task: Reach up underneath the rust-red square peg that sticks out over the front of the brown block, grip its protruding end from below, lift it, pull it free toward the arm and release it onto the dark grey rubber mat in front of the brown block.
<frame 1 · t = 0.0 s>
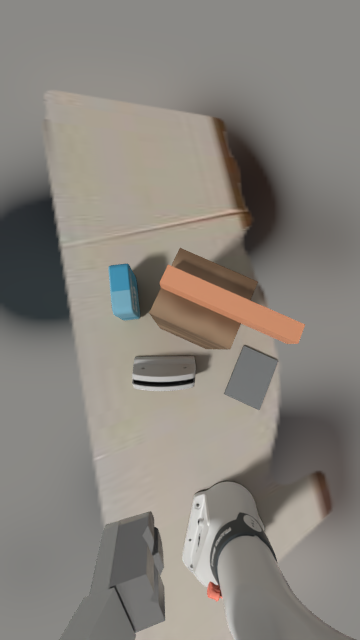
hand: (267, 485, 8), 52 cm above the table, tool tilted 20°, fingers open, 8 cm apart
data package: (130, 299, 61), on the table
mat: (250, 377, 59), on the table
brown block: (191, 318, 61), on the table
pin: (227, 307, 35), point 26 cm above the table, touching brown block
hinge: (164, 370, 59), on the table
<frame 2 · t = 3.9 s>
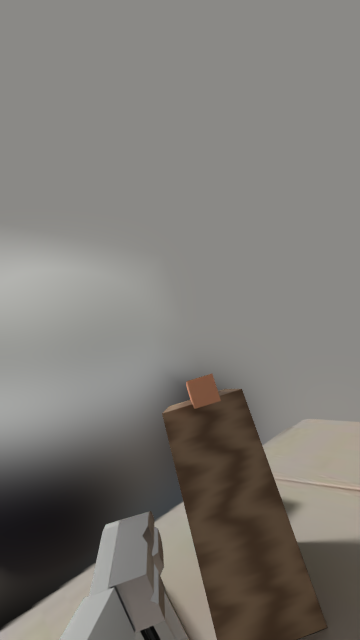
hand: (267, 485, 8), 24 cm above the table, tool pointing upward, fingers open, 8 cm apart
brown block: (256, 590, 30), on the table
pin: (201, 400, 34), point 26 cm above the table, touching brown block
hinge: (146, 628, 30), on the table
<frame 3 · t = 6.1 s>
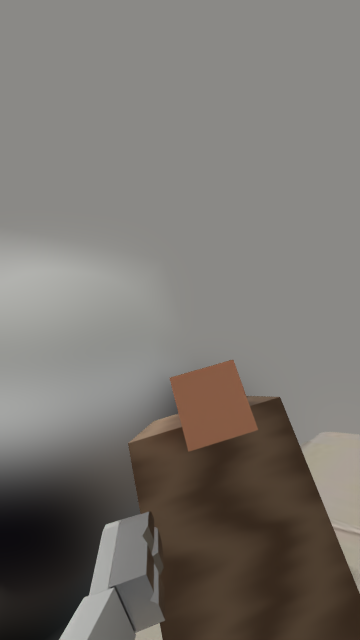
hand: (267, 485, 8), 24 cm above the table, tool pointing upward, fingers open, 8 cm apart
pin: (202, 415, 19), point 26 cm above the table, touching brown block
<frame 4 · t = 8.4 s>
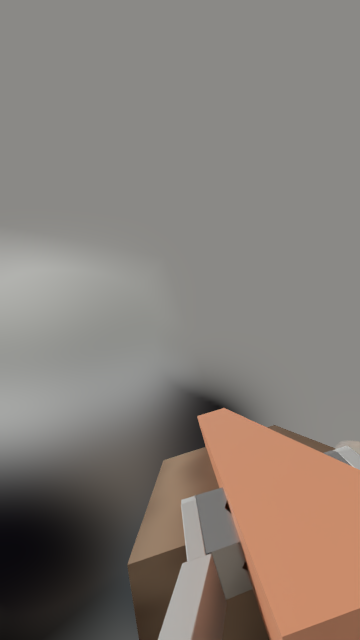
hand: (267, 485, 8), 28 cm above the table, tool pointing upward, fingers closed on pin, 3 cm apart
pin: (248, 487, 12), point 26 cm above the table, touching gripper, brown block
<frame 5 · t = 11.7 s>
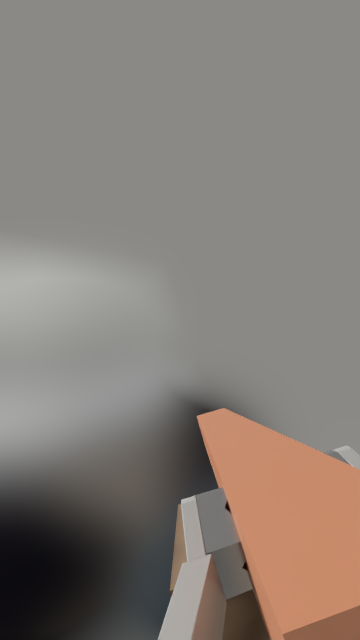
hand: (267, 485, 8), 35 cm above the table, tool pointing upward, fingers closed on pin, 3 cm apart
pin: (247, 486, 12), point 34 cm above the table, touching gripper
when the fingers open (18 cm above the table, at t = 15.5 s): pin drops 16 cm, resting on mat.
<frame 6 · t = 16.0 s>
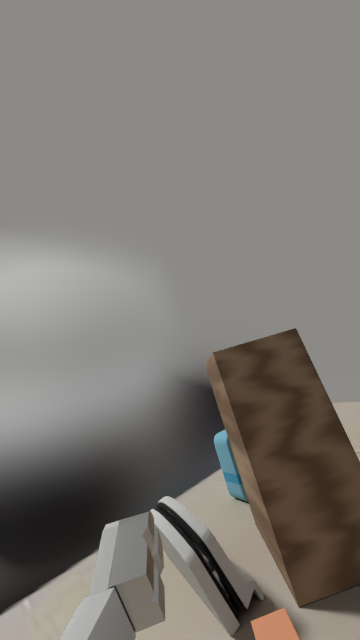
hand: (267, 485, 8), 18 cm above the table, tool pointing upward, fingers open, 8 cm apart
data package: (258, 488, 45), on the table
brown block: (315, 540, 28), on the table
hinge: (199, 583, 28), on the table
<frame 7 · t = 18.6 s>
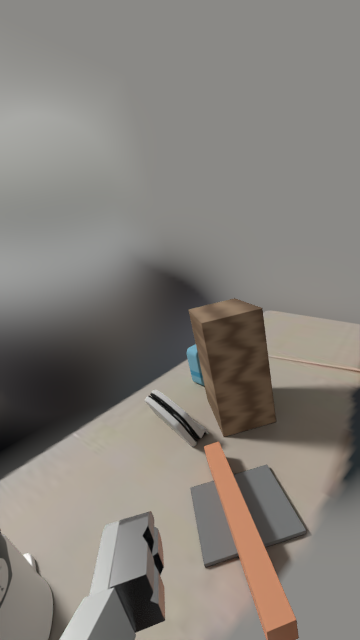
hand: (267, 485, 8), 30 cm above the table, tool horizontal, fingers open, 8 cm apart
data package: (210, 377, 71), on the table
mat: (241, 509, 33), on the table
brown block: (237, 409, 54), on the table
pin: (237, 518, 32), point 1 cm above the table, touching mat
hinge: (175, 426, 53), on the table
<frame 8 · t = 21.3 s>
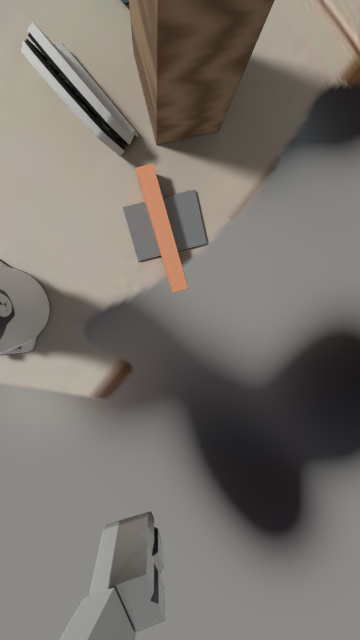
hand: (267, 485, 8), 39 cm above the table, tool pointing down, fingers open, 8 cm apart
mat: (166, 226, 42), on the table
brown block: (178, 93, 39), on the table
pin: (163, 234, 42), point 1 cm above the table, touching mat
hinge: (90, 112, 38), on the table
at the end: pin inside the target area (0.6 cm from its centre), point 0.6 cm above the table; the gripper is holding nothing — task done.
